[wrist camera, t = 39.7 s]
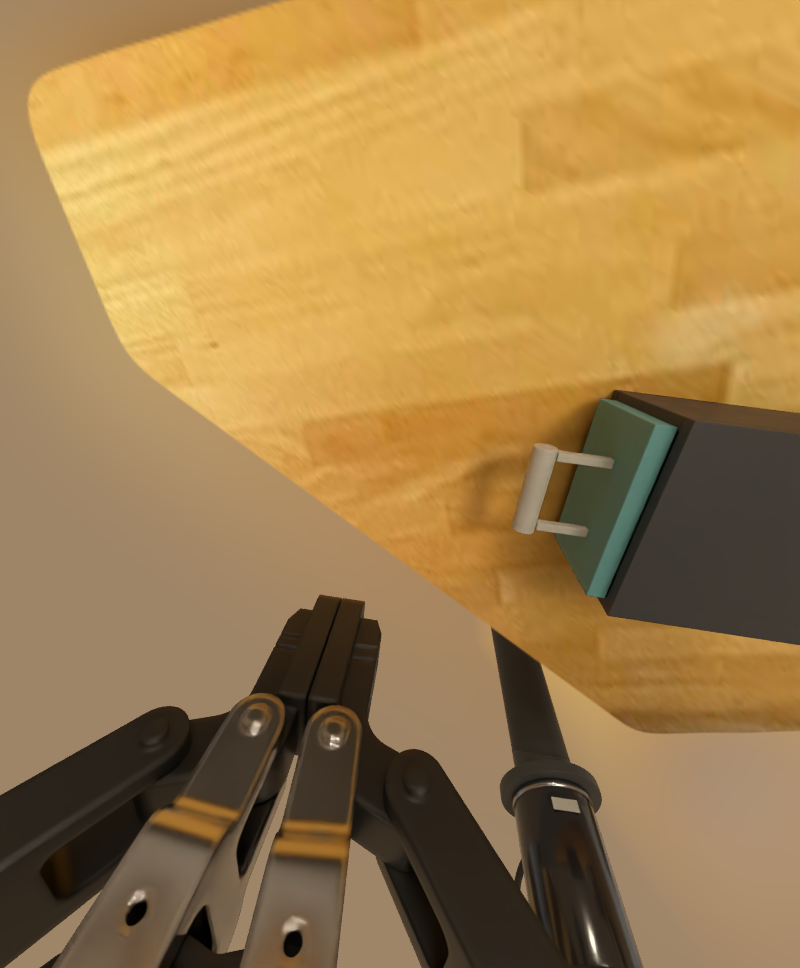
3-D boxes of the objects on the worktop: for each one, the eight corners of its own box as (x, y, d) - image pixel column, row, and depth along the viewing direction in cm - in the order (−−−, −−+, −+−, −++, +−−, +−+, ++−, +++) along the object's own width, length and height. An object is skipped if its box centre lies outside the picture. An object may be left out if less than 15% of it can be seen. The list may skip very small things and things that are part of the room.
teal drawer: (493, 527, 31) (509, 584, 24) (528, 388, 26) (559, 411, 19) (714, 559, 30) (793, 627, 23) (791, 423, 25) (916, 459, 19)
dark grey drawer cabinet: (562, 538, 32) (607, 616, 23) (614, 389, 26) (695, 420, 18) (732, 563, 31) (839, 651, 23) (818, 415, 26) (998, 460, 18)
